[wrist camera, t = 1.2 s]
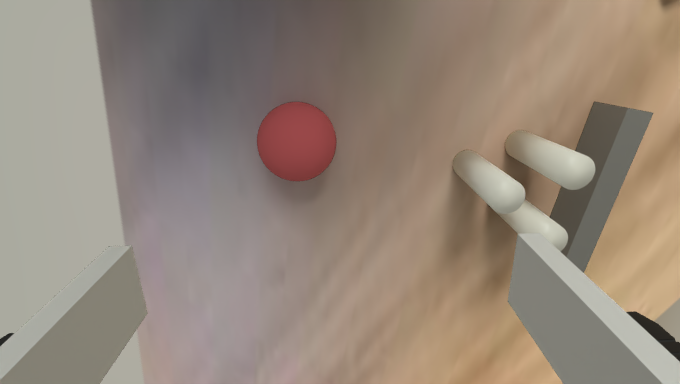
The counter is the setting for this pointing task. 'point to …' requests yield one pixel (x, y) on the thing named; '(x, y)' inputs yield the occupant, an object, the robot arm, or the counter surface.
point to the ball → (296, 141)
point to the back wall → (599, 176)
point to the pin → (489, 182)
